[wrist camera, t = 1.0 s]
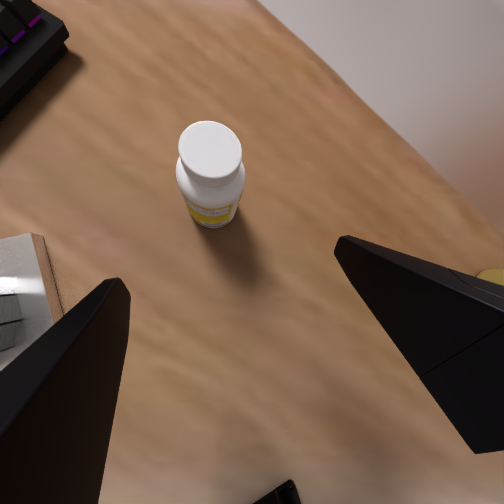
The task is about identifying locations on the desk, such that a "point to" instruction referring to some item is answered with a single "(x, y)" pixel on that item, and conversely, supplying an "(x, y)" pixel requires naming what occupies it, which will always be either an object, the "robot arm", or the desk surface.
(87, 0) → the desk surface
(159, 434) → the desk surface
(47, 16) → the keyboard
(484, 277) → the bark textured cylinder
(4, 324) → the cup bracket
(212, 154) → the supplement bottle
